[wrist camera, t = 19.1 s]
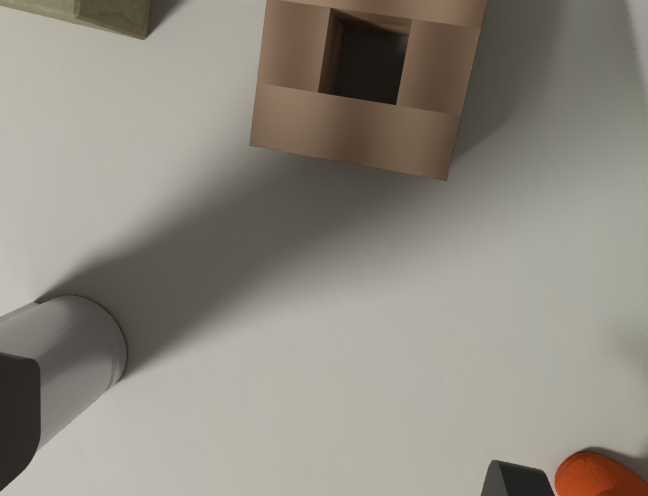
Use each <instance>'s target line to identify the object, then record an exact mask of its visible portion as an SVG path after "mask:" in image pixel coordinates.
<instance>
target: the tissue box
mask: <svg viewBox="0 0 648 496" xmlns="http://www.w3.org/2000/svg"><path fill="white" fill-rule="evenodd" d="M0 5H1V6H5V7H9V8H13V9H17V10H21V11H25V12H29V13H34V14H38V15H42V16H46V17H50V18H54V19H58V20H63V21H67V22H71V23H75V24H79V25H83V26H87V27H92V28H96V29H100V30H104V31H108V32H112V33H116V34H121V35H125V36H129V37H133V38H137V39H141V40H144V39H145V38H147V31H148V23H149V16H150V8H151V0H0Z"/></svg>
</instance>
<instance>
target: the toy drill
mask: <svg viewBox="0 0 648 496" xmlns="http://www.w3.org/2000/svg"><path fill="white" fill-rule="evenodd" d="M555 488H556V492H557V493H558V495H559V496H648V484H647V483H646V482H645V481H644V480H642V479H641V478H640V477H639V476H638V475H636V474H635V473H633V472H632V471H631V470H629V469H627V468H626V467H624V466H623V465H621V464H619V463H617V462H615V461H613V460H612V459H609V458H607V457H605V456H603V455H599V454H596V453H590V452H582V453H577V454H574V455H572V456H570V457H569V458H567V459H566V460H565V461H564V462H563V463H562V464H561V465H560V467H559V468H558V470H557V472H556V475H555Z"/></svg>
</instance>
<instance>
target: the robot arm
mask: <svg viewBox="0 0 648 496" xmlns="http://www.w3.org/2000/svg"><path fill="white" fill-rule="evenodd" d="M126 359H127V352H126V344H125V340H124V336H123V334H122V332H121V330H120V328H119V326H118V325H117V323H116V322H115V320H114V319H113V318H112V316H111V315H110V314H109V313H107V312H106V311H105V310H104V309H103V308H102V307H100V306H99V305H97V304H96V303H94V302H92V301H90V300H88V299H85V298H82V297H78V296H59V297H55V298H52V299H50V300H48V301H46V302H44V303H42V304H39V303H34V302H31V303H29V304H27V305H25V306H23V307H21V308H18V309H16V310H14V311H12V312H10V313H8V314H5V315H3V316H1V317H0V491H2V490H3V489H4V488H5V487H6V486H7V485H8V484H9V483H10V482H12V481H13V480H14V479H15V478H16V477H17V476H18V475H19V474H20V473H22V471H23V470H24V469H25V468H26V467H27V466H28V465H29V463H30V462H31V460H32V459H33V457H34V455H35V453H36V452H37V451H38V450H39V449H41V448H42V447H43V446H44V445H45V444H46V443H47V442H49V441H50V440H51V439H52V438H53V437H54V436H55V435H57V434H58V433H59V432H60V431H61V430H62V429H64V428H65V427H66V426H67V425H68V424H69V423H70V422H72V421H73V420H74V419H75V418H76V417H77V416H78V415H80V414H81V413H82V412H83V411H84V410H85V409H87V408H88V407H89V406H90V405H91V404H92V403H93V402H95V401H96V400H97V399H98V398H99V397H100V396H102V395H103V394H104V393H105V392H106V391H107V390H108V389H110V388H111V387H112V386H113V385H114V384H115V383H116V382H117V381H118V380H119V378H120V377H121V376H122V373H123V371H124V369H125V365H126ZM481 496H555V495H554V493H553V490H552V488H551V486H550V483H549V481H548V478H547V476H546V474H545V473H544V471H542V470H540V469H536V468H531V467H526V466H522V465H517V464H513V463H508V462H503V461H499V460H492V462H491V463H490V465H489V467H488V470H487V474H486V478H485V481H484V485H483V489H482V493H481Z"/></svg>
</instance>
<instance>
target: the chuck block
mask: <svg viewBox="0 0 648 496" xmlns="http://www.w3.org/2000/svg"><path fill="white" fill-rule="evenodd" d="M486 4H487V0H267V2H266V11H265V19H264V27H263V36H262V44H261V53H260V61H259V70H258V78H257V87H256V95H255V104H254V112H253V120H252V129H251V137H250V146H254V147H260V148H265V149H271V150H277V151H282V152H288V153H293V154H299V155H305V156H310V157H316V158H321V159H327V160H332V161H338V162H344V163H349V164H355V165H360V166H366V167H372V168H377V169H383V170H388V171H394V172H400V173H405V174H411V175H416V176H422V177H427V178H433V179H439V180H444V181H447V176H448V172H449V168H450V163H451V159H452V154H453V150H454V145H455V141H456V137H457V132H458V128H459V123H460V119H461V114H462V110H463V106H464V101H465V97H466V92H467V88H468V84H469V79H470V75H471V70H472V66H473V61H474V57H475V53H476V48H477V44H478V39H479V35H480V30H481V26H482V22H483V17H484V13H485V8H486ZM344 28H351V29H358V30H365V31H372V32H379V33H386V34H392V35H399V36H406V37H409V40H408V45H407V50H406V55H405V61H404V66H403V71H402V76H401V81H400V87H399V92H398V97H397V102H396V105H391V104H385V103H379V102H373V101H366V100H360V99H354V98H348V97H342V96H336V95H334V90H335V84H336V78H337V72H338V65H339V59H340V53H341V46H342V40H343V34H344Z"/></svg>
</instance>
